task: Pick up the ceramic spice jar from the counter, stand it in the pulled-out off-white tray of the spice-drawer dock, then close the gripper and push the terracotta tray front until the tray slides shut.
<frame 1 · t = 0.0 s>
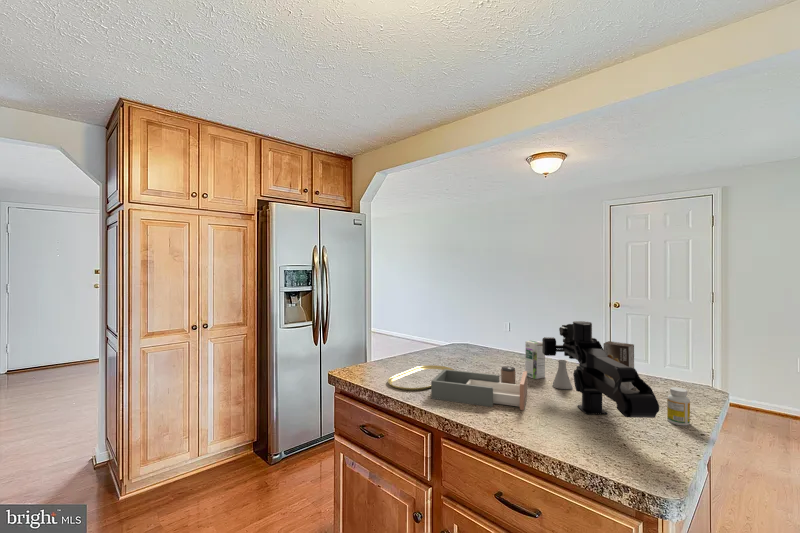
hand: (560, 342, 145), 17 cm above the worktop, tool horizontal, fingers open, 9 cm apart
gold oval hoop: (423, 379, 154), on the worktop
syrup box: (535, 377, 157), on the worktop
flask: (562, 387, 143), on the worktop
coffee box: (619, 386, 145), on the worktop
supplement bottle: (678, 423, 111), on the worktop
spice jar: (508, 386, 143), on the worktop
dock: (473, 395, 133), on the worktop
tray: (494, 386, 131), point 4 cm above the worktop, slide at 8.0 cm
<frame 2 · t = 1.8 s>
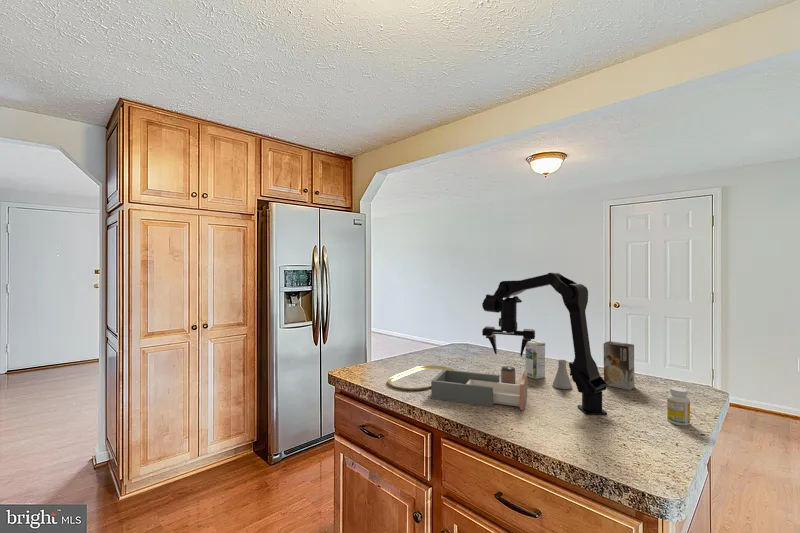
hand: (508, 355, 143), 12 cm above the worktop, tool pointing down, fingers open, 9 cm apart
nothing on the worktop moved.
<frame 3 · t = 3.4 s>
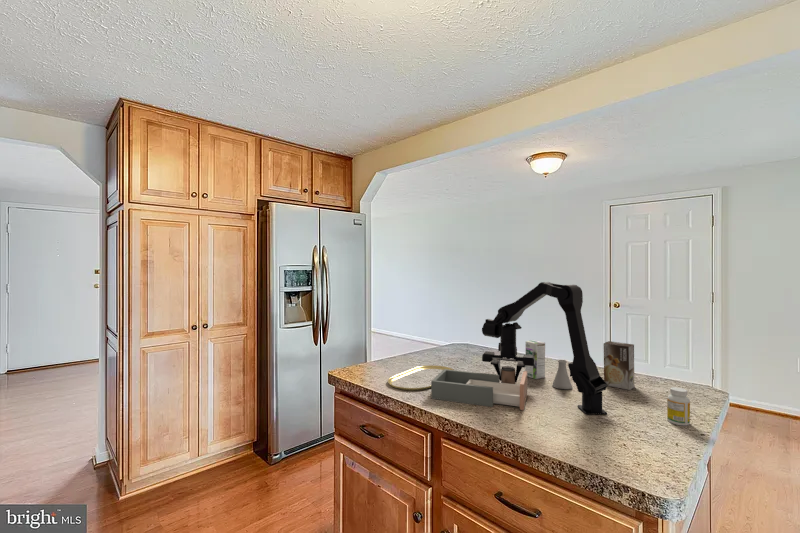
hand: (508, 381, 143), 2 cm above the worktop, tool pointing down, fingers closed on spice jar, 5 cm apart
spice jar: (508, 386, 143), on the worktop, touching gripper
everything else where it was.
when the fingers open (4 cm above the worktop, at t = 8.8 s): spice jar stays where it is, resting on tray.
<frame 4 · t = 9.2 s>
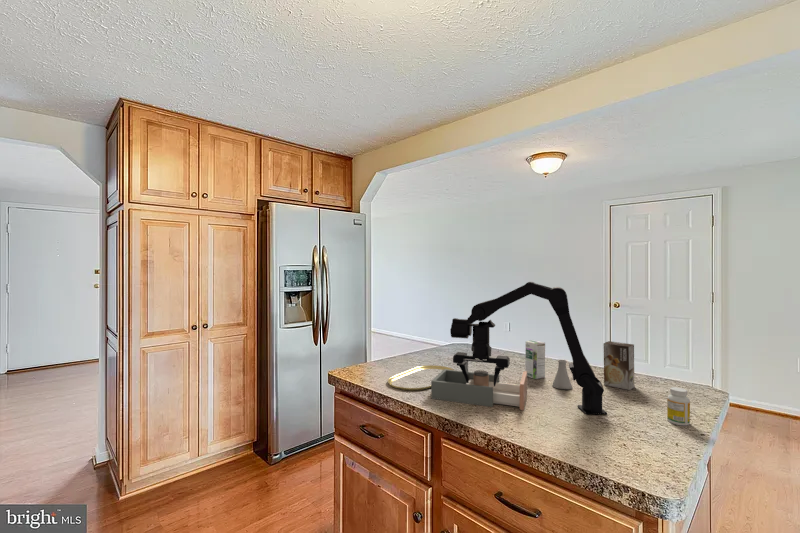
hand: (481, 384, 132), 4 cm above the worktop, tool pointing down, fingers open, 9 cm apart
spice jar: (481, 393, 132), point 1 cm above the worktop, touching tray
tray: (494, 386, 131), point 4 cm above the worktop, slide at 8.0 cm, touching spice jar
everything else where it was.
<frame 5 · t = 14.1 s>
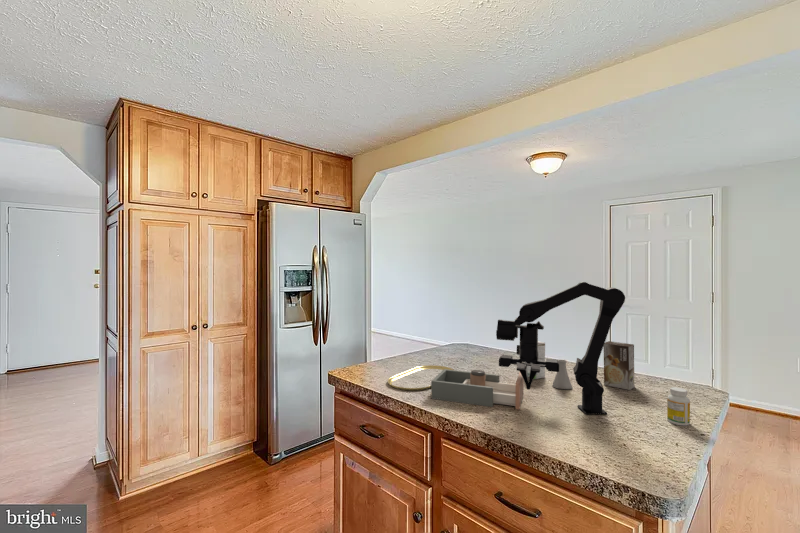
hand: (528, 388, 126), 5 cm above the worktop, tool pointing down, fingers closed
spice jar: (477, 392, 133), point 1 cm above the worktop, touching tray
tray: (491, 385, 131), point 4 cm above the worktop, slide at 6.7 cm, touching gripper, spice jar
everything else where it was.
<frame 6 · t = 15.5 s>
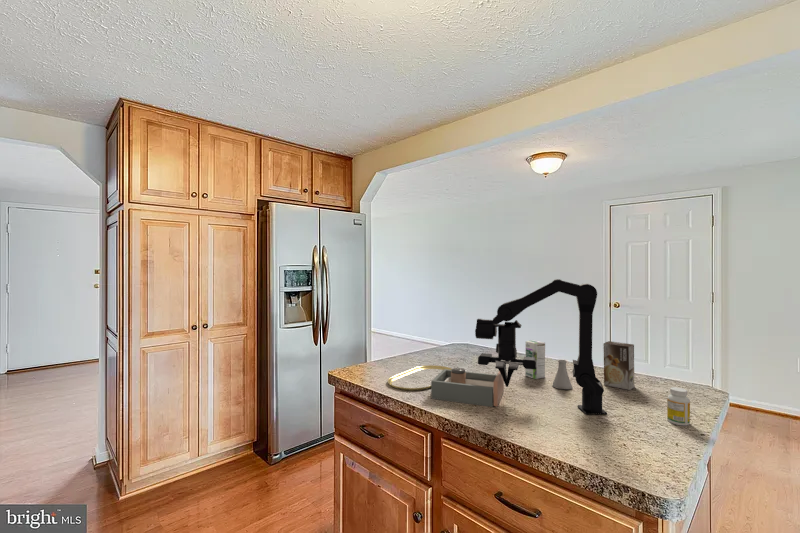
hand: (507, 386, 129), 5 cm above the worktop, tool pointing down, fingers closed
spice jar: (458, 390, 135), point 1 cm above the worktop, touching tray
tray: (471, 383, 134), point 4 cm above the worktop, slide at -0.1 cm, touching gripper, spice jar
everything else where it was.
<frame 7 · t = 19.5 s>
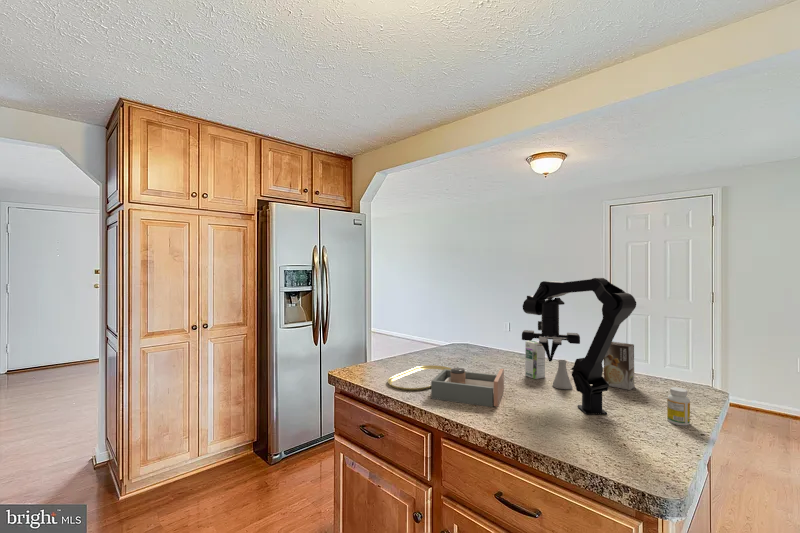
hand: (550, 361, 134), 12 cm above the worktop, tool pointing down, fingers closed
tray: (471, 383, 134), point 4 cm above the worktop, slide at 0.0 cm, touching spice jar
everything else where it was.
at the end: tray slide at 0.0 cm; spice jar 5.5 cm from the dock (horizontally); spice jar tilted 2° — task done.
